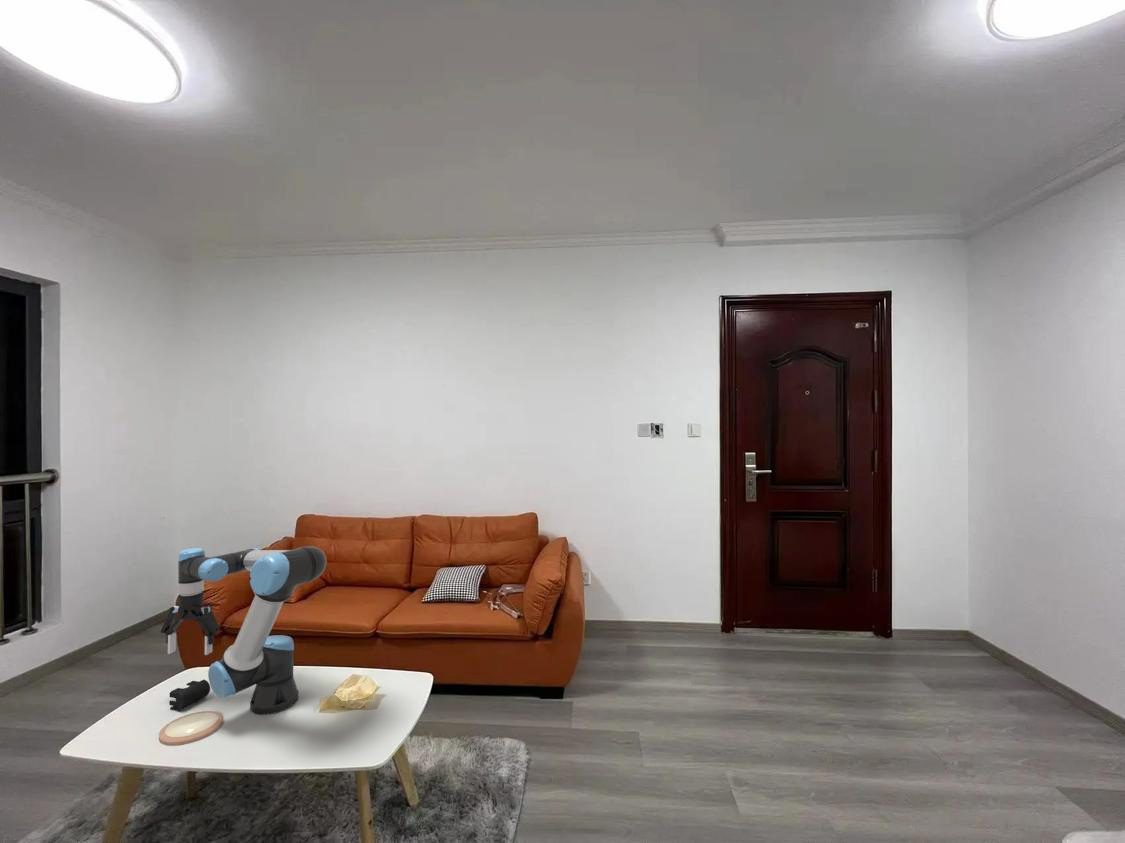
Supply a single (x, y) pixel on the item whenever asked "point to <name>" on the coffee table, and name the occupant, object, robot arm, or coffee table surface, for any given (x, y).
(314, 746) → the coffee table surface
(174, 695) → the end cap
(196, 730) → the plate
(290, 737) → the coffee table surface
